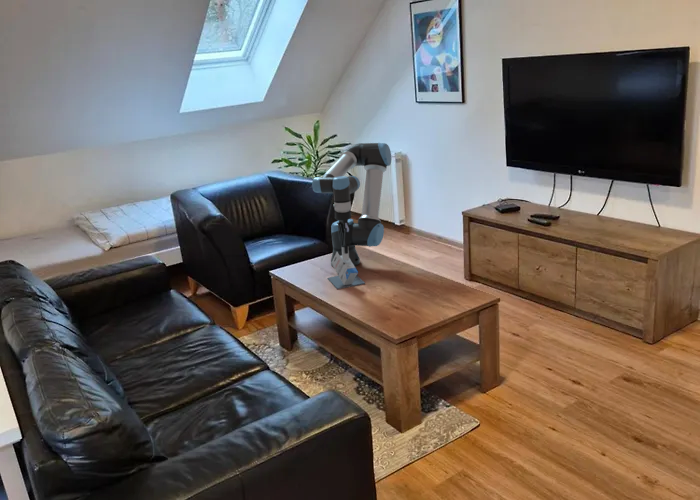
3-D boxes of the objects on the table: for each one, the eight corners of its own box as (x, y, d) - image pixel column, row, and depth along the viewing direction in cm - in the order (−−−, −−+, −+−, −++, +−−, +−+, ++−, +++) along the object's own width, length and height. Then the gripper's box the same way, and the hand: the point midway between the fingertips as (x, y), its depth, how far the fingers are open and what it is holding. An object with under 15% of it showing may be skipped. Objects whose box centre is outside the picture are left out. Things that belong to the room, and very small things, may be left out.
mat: (327, 278, 313) (327, 277, 313) (354, 273, 317) (354, 272, 317) (337, 289, 299) (337, 288, 298) (365, 284, 303) (365, 282, 302)
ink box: (359, 272, 297) (345, 250, 305) (350, 272, 294) (336, 250, 302) (352, 284, 302) (339, 262, 310) (343, 285, 299) (330, 263, 307)
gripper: (330, 208, 297) (333, 256, 304) (339, 214, 285) (342, 264, 292) (345, 206, 299) (348, 254, 306) (355, 212, 287) (357, 262, 294)
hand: (345, 259), depth 299 cm, fingers closed
